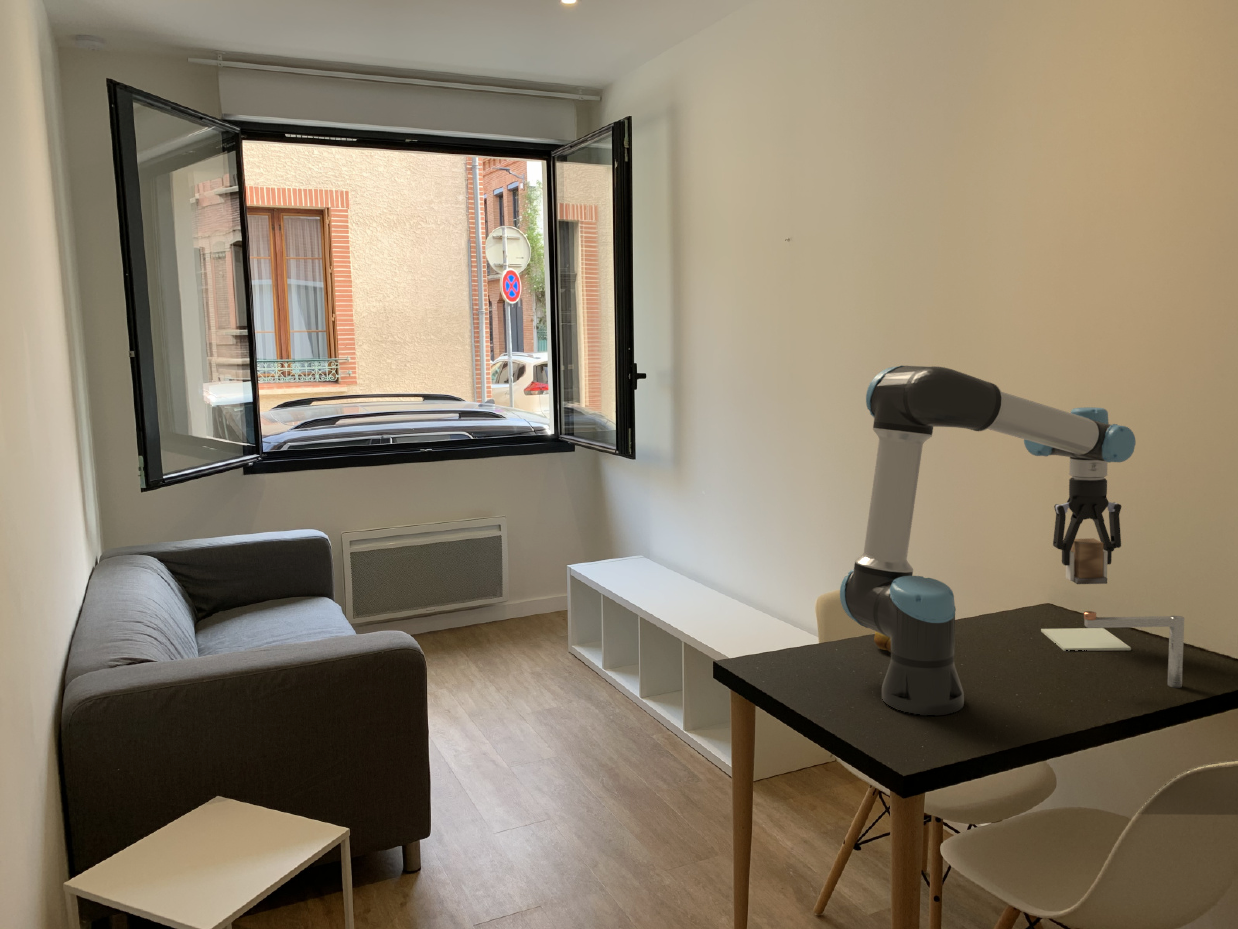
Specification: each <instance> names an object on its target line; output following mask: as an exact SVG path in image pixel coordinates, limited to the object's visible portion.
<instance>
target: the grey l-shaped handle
mask: <svg viewBox="0 0 1238 929" xmlns="http://www.w3.org/2000/svg"><path fill="white" fill-rule="evenodd" d="M1083 619H1084V622H1083V623H1084V625H1083V626H1085V627H1086V628H1104V629H1105V628H1106V629H1107V628H1112V629H1113V628H1164V627H1165V628H1166V627H1167V628H1169V632H1168V633H1169V637H1168V662H1167V663H1168V664H1167V686H1168V687H1171V688H1174V689H1179V688H1182V686H1183V666H1184V665H1183V664H1184V663H1183V662H1184V639H1185V637H1184V635H1185V617H1184V616H1183V615H1182V616H1181V615H1169V616H1168V615H1165V616H1164V615H1163V616H1162V615H1160V616H1158V615H1157V616H1106V617H1105V616H1103V617H1101V616H1100V617H1097V612H1096V611H1091V610H1086V611H1083Z"/></svg>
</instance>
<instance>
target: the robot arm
mask: <svg viewBox="0 0 1238 929" xmlns="http://www.w3.org/2000/svg"><path fill="white" fill-rule="evenodd" d="M865 394H866V395H865V404H866V407H867V410H869V414H870V415H871V416H872V418H873V425H872V430H873V432H874V433H875V434H876V436H878V439H879V440H878V446H877V454H876V460H875V461H876V462H875V466H874V467H875V468H874V475H873V481H872V482H873V483H872V489H871V490H872V491H871V495H870V496H871V497H870V506H869V512H868V518H867V526H866V531H865V540H864V547H863V548H864V549H863V553H862V554H861V555H860V556H858V557H857V558H855V559H854V564H853V565H854V566H853V569H851V570H850V571H848V572H847V575H846V576H844V577H843V579H842V581H841V584H840V589H839V600H840V604H841V607H842V609H843V611H844V612H845V613H846V615H847V616H848V617H849V618H850V619H851V620H853V622H856V623H857V624H858V625H860V626H862V627H864V628H866V629H870V630H872V631H875V632H876V631H877V632H879V633H881V634H883V635H885V636H888V637H890V638H891V652H890V661H889V665H888V668H887V671H886V674H885V677H884V679H883V681H882V684H881V685H882V686H881V700H882V699H883V700H882V702H883V701H884V702H886V703H887V704H888V705H890V706H892V707H893V708H897V709H899V710H901V711H904V712H903V713H905V712H910V713H914V714H913V715H916V714H920V715H919V716H927V715H935V716H944V715H950V713H951V714H953V712H954V713H956V712H958V711H960V710H962V709H963V707H964V704H965V696H964V695H965V694H964V689H963V687H962V684H961V680H960V677H959V675H958V672H957V668H956V665H955V641H956V640H955V638H956V637H955V635H956V634H955V633H956V611H957V610H956V606H955V605H956V604H955V595H954V592H953V589H951V587H950V586H949V585H948V584H946V583H944V582H943V581H940V580H939V579H935V578H932V577H924V576H922V575H913V573H914V568H913V567H912V566H911V564H910V563H909V562H908V553H909V547H910V546H909V545H910V538H911V532H912V524H913V518H914V517H913V516H914V511H915V510H914V509H915V504H916V503H915V502H916V495H917V488H918V481H919V475H920V468H921V467H920V466H921V460H922V452H923V445H924V444H925V442H927V441H928V440H929V439H930V438H932V437H933V432H934V427H938V428H939V427H942V428H959V429H965V430H966V429H967V430H970V431H974V432H983V431H986V430H990V431H993V432H997V433H1001V434H1004V435H1008V436H1011V437H1015V438H1017V439H1022V440H1023V443H1024V448H1026V450H1027V452H1028V453H1030V454H1031V455H1032V456H1036V457H1050V456H1059V457H1068V458H1069V467H1068V468H1069V469H1068V470H1069V473H1068V474H1069V476H1071V477H1070V478H1069V480H1068V481H1069V482H1068V483H1069V484H1068V495H1069V496H1068V499H1067V501H1066V502H1065V503H1062V504H1059V503H1058V504H1057V503H1056V504H1054V507H1053V509H1054V511H1055V522H1054V532H1053V540H1052V547H1054V548H1055V549H1058V550H1060V551H1061V564H1062V565H1064V566H1065V579H1066V580H1069V581H1070V582H1073V581H1074V552H1073V551H1071V548H1072V545H1073V543H1074V540H1075V539H1076V537H1077V535H1078V532H1079V529H1080V527H1081V525H1082V523H1083V522H1084V521H1085V520H1089V519H1090V520H1092V521H1093V524H1094V526H1095V529H1096V532H1097V534H1098V538H1099V540H1100V542H1102V543H1103V576H1104V577H1106V578H1107V579H1108V565H1111V564H1112V558H1113V557H1112V553H1113V552H1114V551H1115V549H1119V548H1121V547H1122V536H1121V535H1122V534H1121V523H1120V522H1121V521H1120V514H1121V510H1122V504H1119V503H1117V502H1115V501H1114V502H1112V501H1109V500H1108V498H1107V494H1108V480H1107V479H1106V477H1107V476H1108V463H1123V462H1126V461H1127V460H1129V459H1130V457H1131V456H1132V455H1133V454H1134V452H1135V447H1136V436H1135V432H1133V431H1132V430H1131V429H1130V427H1128V426H1125V425H1119V424H1115V423H1112V424H1111V423H1110V422H1109V413H1108V410H1107V409H1105V408H1104V407H1093V406H1092V407H1090V406H1089V407H1088V406H1086V407H1075V408H1072V409H1071V411H1070V412H1069V411H1065V410H1063V409H1059V408H1056V407H1055V408H1054V407H1052V406H1049V405H1045V404H1044V403H1043V404H1042V403H1039V402H1036V401H1032V400H1029V399H1026V398H1024V397H1019V396H1016V395H1013V394H1011V393H1007V392H1005V391H1001V388H999V386H998V385H997V384H995V383H993V382H990V381H987V380H983V379H981V378H977V377H975V376H972V375H970V374H966V373H963V372H961V371H958V370H954V369H952V368H948V367H945V366H933V365H932V366H925V365H923V366H922V365H921V366H920V365H918V366H917V365H899V366H898V365H897V366H890V367H887V368H885V369H882V370H881V371H880V372H878V374H876V375H875V376H874V377H873V378H872V380H871V381H870V383H869V385H868V387H867V391H866V393H865ZM1109 423H1110V424H1109ZM1106 509H1107V511H1108V521H1109V522H1108V523H1109V533H1108V530H1107V529H1108V528H1106V525H1105V524H1106V523H1105V519H1104V515H1103V513H1104V512H1105V510H1106ZM1068 510H1069V511H1071V517H1070V521H1069V525H1068V526H1067V530H1066V532H1065V529H1066V519H1067V516H1066V514H1067V513H1068ZM884 702H883V703H884ZM888 705H887V706H888ZM893 708H892V709H893ZM901 711H900V712H901ZM910 713H909V714H910Z"/></svg>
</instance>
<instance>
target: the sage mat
mask: <svg viewBox="0 0 1238 929" xmlns="http://www.w3.org/2000/svg"><path fill="white" fill-rule="evenodd" d="M1040 632H1041V633H1042V634H1044V635H1045V636H1046V637H1047V638H1048V639H1049V640H1051V641H1052V642H1053V643H1054V644H1055V643H1056V644H1055V645H1057V646H1058V647H1059V648H1060V649H1061V650H1062V651H1063V652H1070V650H1075V652H1079V651H1078V650H1082V651H1083V652H1090V651H1091V652H1092V651H1093V652H1096V651H1097V652H1098V651H1101V652H1104V651H1105V652H1106V651H1131V650H1132V647H1131V646H1129V645H1128V644H1126V643H1125V642H1123V641H1122V640H1121V639H1120V638H1118V637H1116V635H1114V634H1112V633H1111V632H1109V631H1108V630H1107V629H1105V628H1087V627H1086V628H1085V627H1083V628H1080V627H1078V628H1077V627H1076V628H1041V629H1040ZM1066 650H1068V651H1066ZM1084 650H1085V651H1084ZM1086 650H1087V651H1086ZM1082 651H1081V652H1082Z"/></svg>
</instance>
